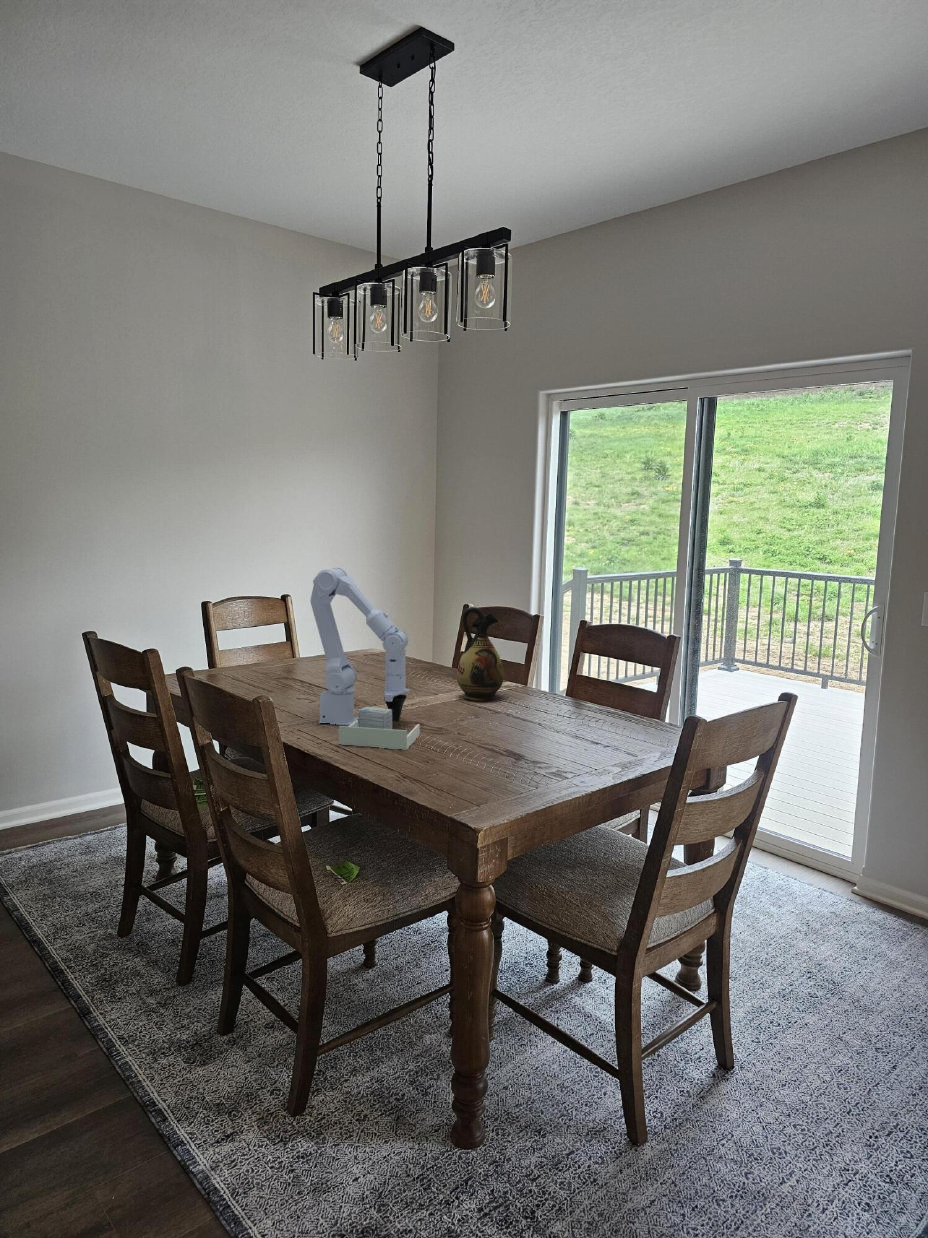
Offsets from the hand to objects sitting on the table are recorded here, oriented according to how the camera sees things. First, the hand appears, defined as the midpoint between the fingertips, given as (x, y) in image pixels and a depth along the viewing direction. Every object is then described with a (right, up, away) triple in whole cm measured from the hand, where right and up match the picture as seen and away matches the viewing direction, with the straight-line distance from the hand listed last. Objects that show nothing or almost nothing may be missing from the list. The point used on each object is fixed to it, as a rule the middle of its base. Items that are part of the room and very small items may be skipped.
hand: (395, 720), depth 230 cm
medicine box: (-4, -4, -16) cm, 17 cm away
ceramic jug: (+24, +3, +36) cm, 44 cm away
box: (-3, -3, -14) cm, 15 cm away
